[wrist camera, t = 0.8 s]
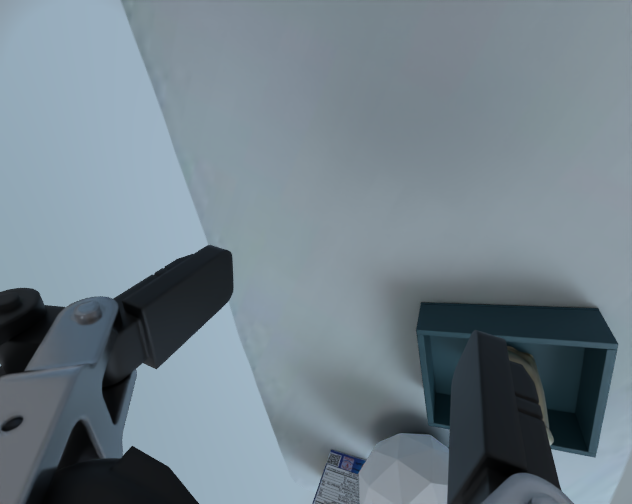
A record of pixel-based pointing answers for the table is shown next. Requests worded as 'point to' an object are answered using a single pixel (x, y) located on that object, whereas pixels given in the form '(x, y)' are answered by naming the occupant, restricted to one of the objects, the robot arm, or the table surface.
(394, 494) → the geodesic sphere
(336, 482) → the beverage box
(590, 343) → the box
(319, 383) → the table surface
